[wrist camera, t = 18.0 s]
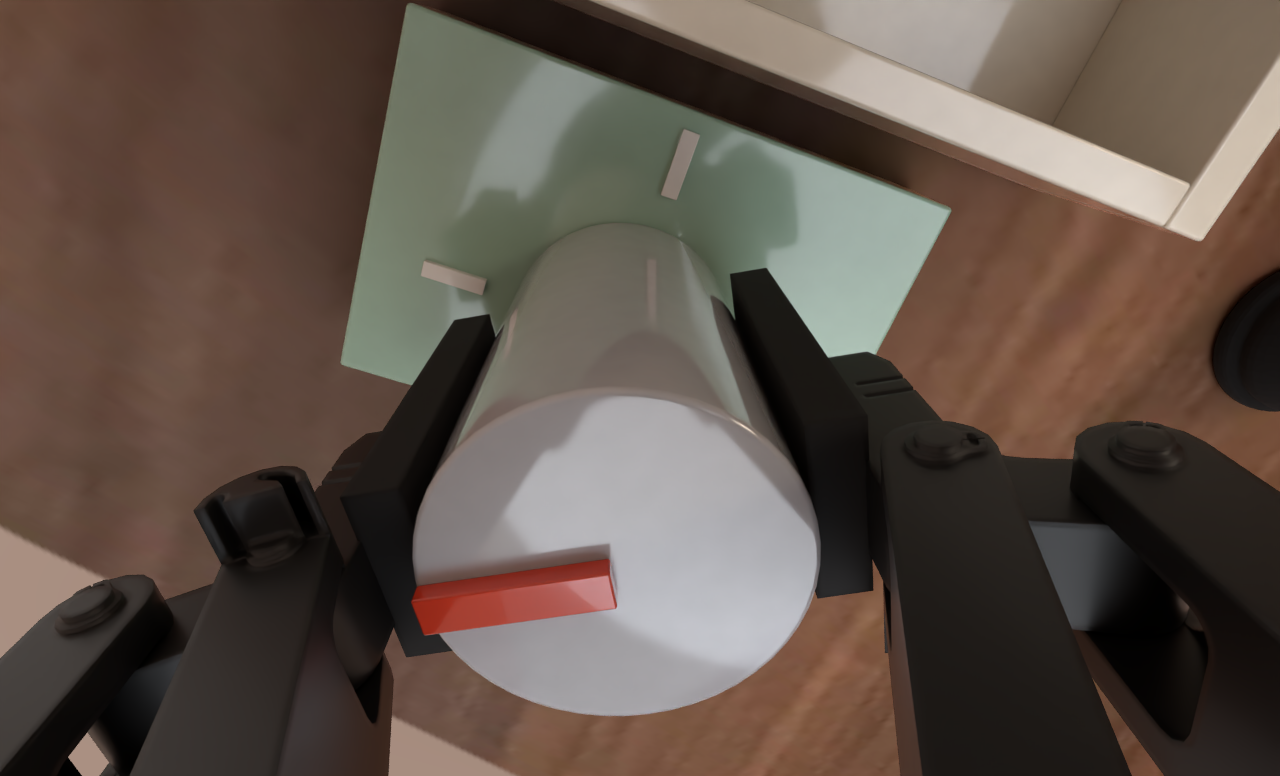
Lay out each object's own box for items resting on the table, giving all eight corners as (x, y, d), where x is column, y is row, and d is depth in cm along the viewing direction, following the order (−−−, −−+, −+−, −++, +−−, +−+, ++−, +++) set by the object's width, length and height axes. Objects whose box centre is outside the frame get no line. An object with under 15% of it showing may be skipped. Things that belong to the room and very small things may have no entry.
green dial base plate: (911, 189, 18) (957, 210, 15) (759, 495, 21) (776, 551, 19) (437, 8, 16) (403, -1, 13) (361, 380, 19) (325, 425, 17)
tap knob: (714, 204, 15) (818, 367, 7) (738, 409, 17) (838, 711, 9) (487, 241, 15) (342, 441, 7) (538, 439, 17) (467, 759, 9)
